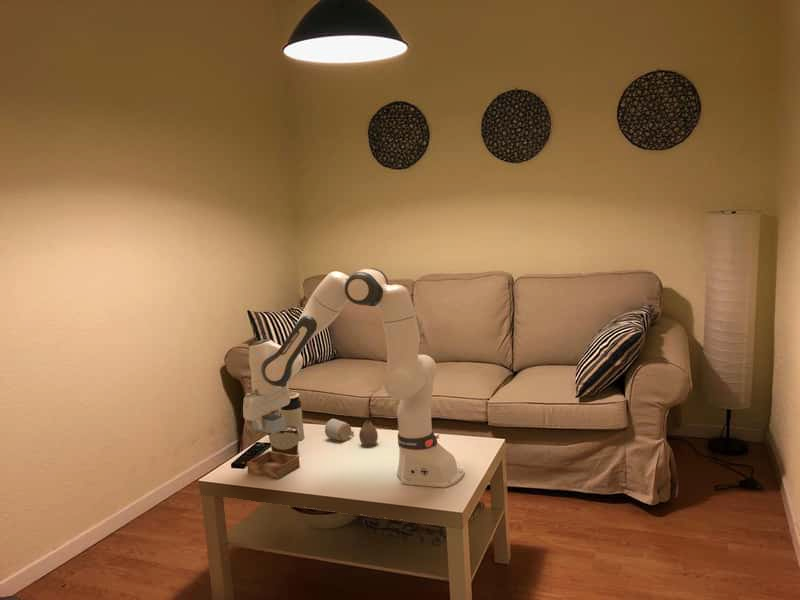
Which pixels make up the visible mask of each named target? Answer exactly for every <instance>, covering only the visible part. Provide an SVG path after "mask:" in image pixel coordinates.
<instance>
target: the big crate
mask: <svg viewBox="0 0 800 600" xmlns="http://www.w3.org/2000/svg"><path fill="white" fill-rule="evenodd" d="M246 467H247V474H251V475H256V476H261V477H265V478H270V479H274V480H280V479H283V478H284V477H285V476H287V475H289V474H292V472H294V471H296V470H297V469H299V468H301V465H300V455H289V454H284V453H279V452H273V451H272V450H268V451H266V452H264V453H262V454H260V455H258V456H256V457H254V458H253V459H250V460H248V461H246Z"/></svg>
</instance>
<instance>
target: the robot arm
mask: <svg viewBox="0 0 800 600" xmlns="http://www.w3.org/2000/svg"><path fill="white" fill-rule="evenodd" d="M349 301H350V302H351V303H353V304H355V305H359V306H367V307H377V308H378V310H379V313H380V317H381V323H382V326H383V332H384V336H385V340H386V350H387V351H386V353H387V354H386V358H387V359H386V361H387V362H386V373H385V376H384V380H383V387H384V389H385V392H386V394H387V395H388V396H389V397H391V398H392V399H395V400H399V404H398V407H397V411H396V415H397V429H398V432H397V445H398V448H399V453H398V455H399V457H398V467H397V472H396V476H397V478H399V479H400V482H401V484H402V485H403V484H404V485H412V486H422V487H423V486H424V487H435V488H448V487H451V486H453V485H454V484H456V483H458V482H459V481H460V480H461V479H463V477H464V476H465V470H464V469H463V468H461V467H458V466H457V462H456V457H455V456H454V454H452V453H451V452H450V451H448V450H447V449H446V448H445V447H443V446H442V445H441V444H440V443H439V442H438V439H439V438H440V433H439V434H437V435H435V433H434V430H433V428H432V425H433V424H432V411H431V410H432V401H433V400H432V399H433V392H434V382H435V378H436V374H437V370H438V367H437V364H436V362H435V360H434V359H433V358H432V357H431V356H429V355H427V354H419V346H420V343H421V342H420V341H421V335H420V330H419V329H420V328H419V326H418V325H419V324H418V321H417V315H416V311H415V308H414V304H413V301H412V298H411V296H410V293H409V291H408V289H407V288H406V287H405V286H403V285H402V284H389V280H388V277H387V276H386V274H385V273H384V272H383V271H381V270H379V269H377V268H363V269H360V270H358V271H356V272H353V273H352V274H350V276H349V275H347V274H345V273H344V272H340V271H336V270H335V271H331V272H329V273H328V274H327V275H326V276H325V277H324V278H323V280H322V281H321V282H320V283H319V284H318V285H317V287H316V288H315V289H314V291H312V294H311V295H310V297H309V298H308V301H307V302H306V305H305V306H304V309H303V310H302V313H301V314H300V316H299V318H298V320H297V322H296V324H295V325H294V327H293V329H292V330H291V332H290V333H289V334H288V336H287V337H286V339H285V340H284V342H283V343H282V345H280V344H278V343H275V342H274V341H273V340H272V339H271V338H270V339H269V338H265V339H261V340H258V341H256V342H253V343H252V344H251V345H250V346H249V349H248V361H249V368H250V372H251V378H250V380H251V390H252V391H251V392H247V393H246V394H245V396H244V397H243V403H242V404H243V405H242V415H243V419H245V420H246V421H251V422H252V420H255V421H256V422H257V423H258V428H259V429H263V428H265V423H262V421H261V419H262V416H264V415H266V414H268V413H269V414H272V413H273V412H274V414H276V415H281V408H282V407H284V406H286V405H288V404H289V403H290V393H291V392H290V387H288V386H289V381H290V379H292V378H293V377H294V376H295V375H296V374H297V373H299V371H300V370H301V369H302V368H303V365H304V358H303V356H302V355H303V354H301V353H302V351H303V349H305V347H306V345H307V344H308V343H309V342H310V341H311V340H312V339H313V338H315V336H316V335H318V334H319V333H320V332H322V331H324V330H325V329H326V328H328V327H329V326H330V325H331V324H332V323H333V322H334V321H335V320H336V318H337V317H338V316H339V315H340V313H341V312H342V310H343V309H344V307H345V306H346V305H347V303H348V302H349Z"/></svg>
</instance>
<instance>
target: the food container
mask: <svg viewBox="0 0 800 600" xmlns="http://www.w3.org/2000/svg"><path fill="white" fill-rule="evenodd" d="M298 433H299V434H300V432H299V429H298V427H297V426H295V425H286V429H284V430H282V431H279V432H277V433H275V434H272V433H266V436H268V440H269V443H270V448H271V451H273V452H279V453H284V454H289V455H295V456H299V441H298Z"/></svg>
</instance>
